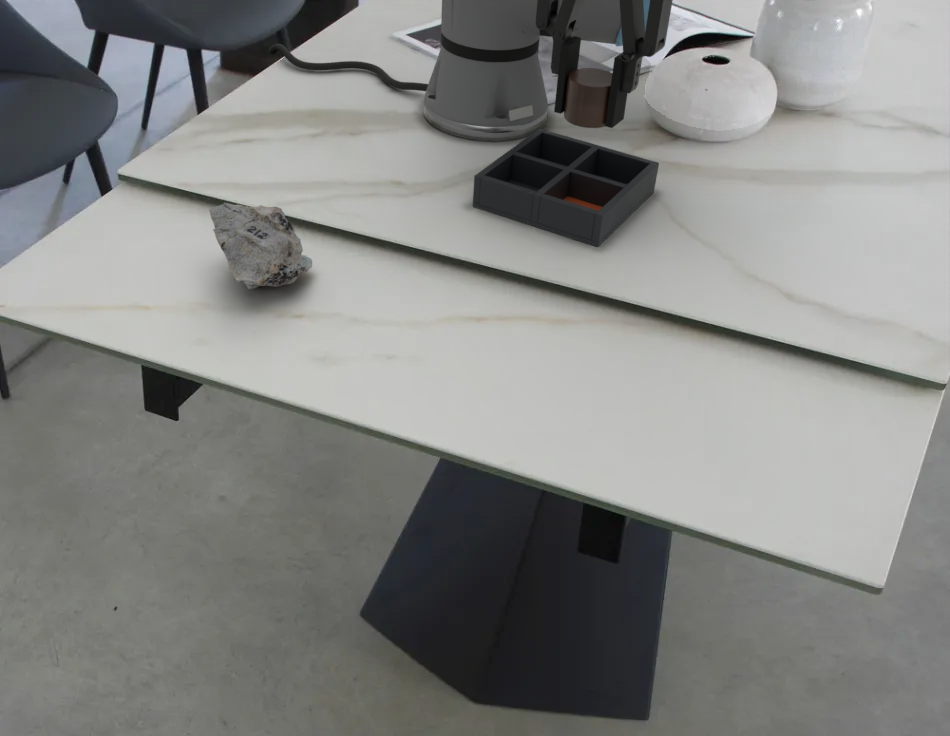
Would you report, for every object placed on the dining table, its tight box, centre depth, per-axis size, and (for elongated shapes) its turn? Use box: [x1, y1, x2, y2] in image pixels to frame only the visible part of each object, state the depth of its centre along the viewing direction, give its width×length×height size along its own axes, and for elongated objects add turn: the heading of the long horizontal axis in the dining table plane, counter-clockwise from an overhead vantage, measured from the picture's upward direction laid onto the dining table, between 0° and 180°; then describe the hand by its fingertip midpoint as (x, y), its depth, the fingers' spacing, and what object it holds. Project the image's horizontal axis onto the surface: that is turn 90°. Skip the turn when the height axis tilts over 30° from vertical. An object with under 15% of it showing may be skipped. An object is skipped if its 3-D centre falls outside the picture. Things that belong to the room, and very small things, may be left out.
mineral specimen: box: [208, 202, 313, 291], centre depth 95 cm, size 10×8×10 cm
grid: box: [472, 128, 660, 247], centre depth 111 cm, size 15×15×4 cm
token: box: [563, 67, 612, 129], centre depth 99 cm, size 5×5×4 cm
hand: (588, 114), depth 100 cm, fingers closed on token, 5 cm apart
